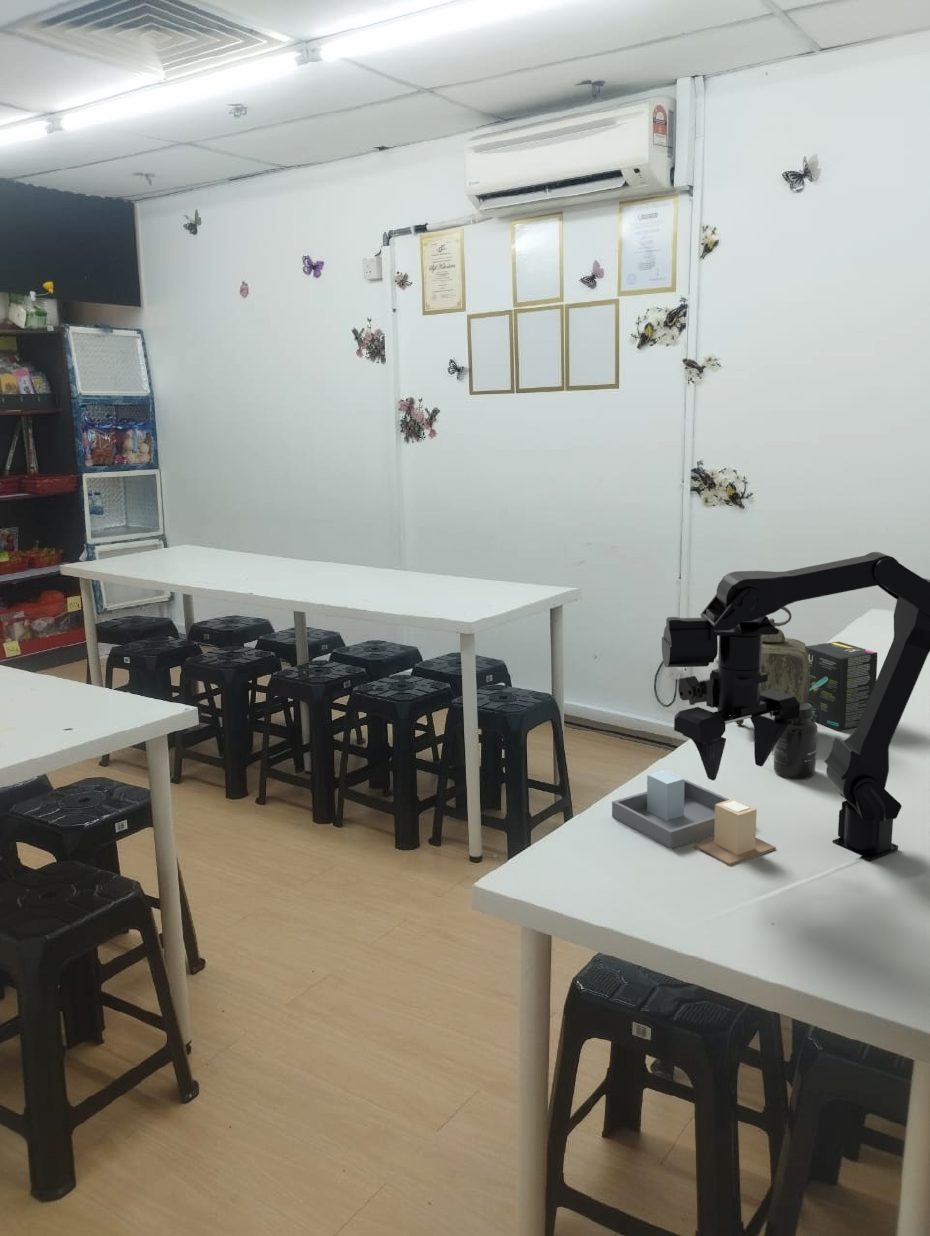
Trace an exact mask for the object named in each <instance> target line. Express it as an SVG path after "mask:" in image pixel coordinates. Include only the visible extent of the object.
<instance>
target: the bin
mask: <svg viewBox="0 0 930 1236" xmlns="http://www.w3.org/2000/svg"><path fill="white" fill-rule="evenodd" d="M730 799H731V798H727V797H724V796H722V795H720V794H718V793H717V792H714V791H711V790H709V789H707V788H705V787H703V786H701V785H699V784H696V783H694V782H692V781H690V780H687V779H684V815H683V816H680V817H677V818H674V819H671V820H667V821H666V820H664V819H662V818H660V817H658V816H656V815H654V814H652V813H650V812H649V811H647V790H646V791H644V792H640V793H637V794H633V795H630V796H627V797H623V798H619V799H616V800H612V801H611V817H612V819H614V820H617V821H619V822H620V823H622V824H624V825H626V826H627V827H629V828H631V829H633V830H635V831H637V832H639V833H640V834H642V835H644V836H645V837H648V838H650V839H651V840H653V841H656V842H658V844H661V845H663V846H664V847H666V848H668V849H670V850H672V849H675V848H678V847H680V846H684V845H686V844H690V843H692V842H696V841H698V840H701V839H705V838H707V837H709V836H710V837H711V836H714V826H715V804H718V803H721V802H724V801H727V800H730Z"/></svg>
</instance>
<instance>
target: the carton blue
mask: <svg viewBox="0 0 930 1236" xmlns="http://www.w3.org/2000/svg"><path fill="white" fill-rule="evenodd" d="M646 776H647V777H646V778H647V779H646V785H647V786H646V788H647V789H646V791H647V811H649V812H650V813H652V814H654V815H656V816H658V817H660V818H662V819H664V820H666V821H667V820H671V819H674V818H677V817H680V816H683V815H684V780H685V778H684V777H681V776H679V775H677V774H674V773H672V772H671V771H668V770H666V769H663V770H659V771H656V772H652V773H648V774H646Z"/></svg>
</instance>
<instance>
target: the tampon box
mask: <svg viewBox="0 0 930 1236" xmlns="http://www.w3.org/2000/svg"><path fill="white" fill-rule="evenodd" d="M805 646H806V648H807V651H808V657H809V667H810V690H809V698H808V703H807V704H809V705H811V706H812V718H811V720H812V721H813V722H815V723H817V724H820V725H822V726H825V727H828V728H830V729H832V730H834V731H835V730H836V731H841V730H847V729H848V730H849V729H852V728H857V726H858V723H859V721H860V719H861V716H862V714H863V711H864V709H865V707H866V704H867V702H868V699H869V697H870V695H871V692H872V690H873V687H874V685H875V683H876V680H877V677H878V675H877V674H878V673H877V672H878V671H877V670H878V669H877V668H878V652H876V651H873V650H869V649H866V648H862V647H860V646H859V647H858V646H855V645H851V644H848V643H846V642H842V641H834V642H826V643H817V644H813V645H805Z"/></svg>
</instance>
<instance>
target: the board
mask: <svg viewBox="0 0 930 1236" xmlns="http://www.w3.org/2000/svg"><path fill="white" fill-rule="evenodd" d="M693 848H694V849H696V850H699V851H700V852H702V853H704V854H706V855H707V856H709V857H712V858H713V859H715V860H717V861H719V862H721V863H723V864H725V865H727V866H728V867H731V866H734V865H736V864H739V863H742V862H745V861H747V860H750V859H752V858H755V857H759V856H761V855H764V854H767V853H769V852H772V851H775V850H776V849H777V848H776V846H774V845H772V844H771V843H769V842H765V841H764V840H761V839H760V838H758V837H756V839H755V849H753V850H750V851H747V852H745V853H742V854H739V855H736V854H734V853H732V852H730V851H728V850H726V849H724V848H722V847H721V846H719V845H717V844H715V843H714V837H713V838H709V839H707V840H704V841H701V842H698V843H695V844H693Z"/></svg>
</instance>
